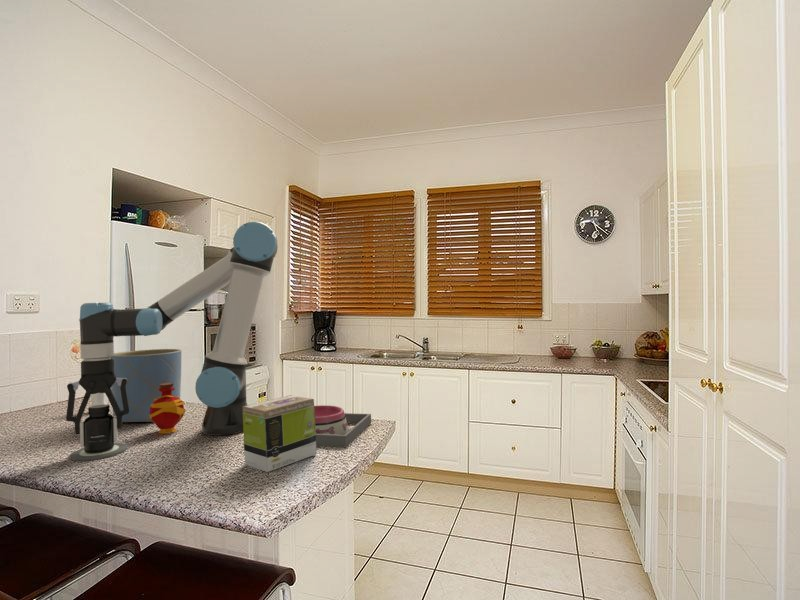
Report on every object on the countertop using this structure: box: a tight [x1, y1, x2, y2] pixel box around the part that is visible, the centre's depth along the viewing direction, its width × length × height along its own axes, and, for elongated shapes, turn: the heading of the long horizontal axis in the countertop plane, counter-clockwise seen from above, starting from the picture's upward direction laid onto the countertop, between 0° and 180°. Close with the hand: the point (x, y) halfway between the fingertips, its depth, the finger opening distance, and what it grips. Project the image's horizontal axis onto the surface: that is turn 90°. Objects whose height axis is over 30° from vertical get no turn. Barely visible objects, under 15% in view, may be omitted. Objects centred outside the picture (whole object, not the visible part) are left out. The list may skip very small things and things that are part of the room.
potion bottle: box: [149, 383, 186, 435], centre depth 142 cm, size 10×10×15 cm
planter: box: [111, 348, 182, 423], centre depth 161 cm, size 23×23×24 cm
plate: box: [69, 442, 128, 462], centre depth 122 cm, size 13×13×1 cm
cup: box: [90, 393, 109, 406], centre depth 173 cm, size 7×7×11 cm
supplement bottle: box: [83, 404, 115, 454], centre depth 122 cm, size 7×7×12 cm
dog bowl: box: [314, 404, 350, 435], centre depth 136 cm, size 18×18×7 cm
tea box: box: [243, 394, 318, 473], centre depth 112 cm, size 15×10×15 cm, turn 141°
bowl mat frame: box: [316, 412, 372, 448], centre depth 136 cm, size 24×24×3 cm
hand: (99, 443), depth 122 cm, fingers closed on supplement bottle, 7 cm apart
